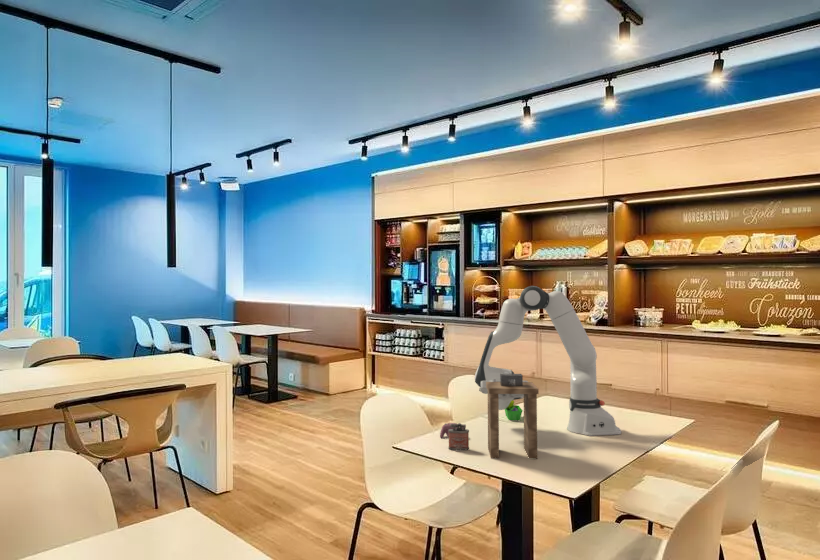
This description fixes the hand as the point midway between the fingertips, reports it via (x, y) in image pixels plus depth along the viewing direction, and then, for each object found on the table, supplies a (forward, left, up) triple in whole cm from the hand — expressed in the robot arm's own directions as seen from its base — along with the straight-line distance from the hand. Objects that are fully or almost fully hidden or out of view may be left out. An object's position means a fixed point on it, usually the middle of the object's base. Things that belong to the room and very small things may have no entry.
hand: (505, 380), depth 224 cm
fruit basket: (-7, -38, -25) cm, 46 cm away
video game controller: (+22, -4, -25) cm, 34 cm away
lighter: (+20, +13, -25) cm, 34 cm away
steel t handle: (0, +11, +1) cm, 11 cm away
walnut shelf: (0, +18, -25) cm, 30 cm away
